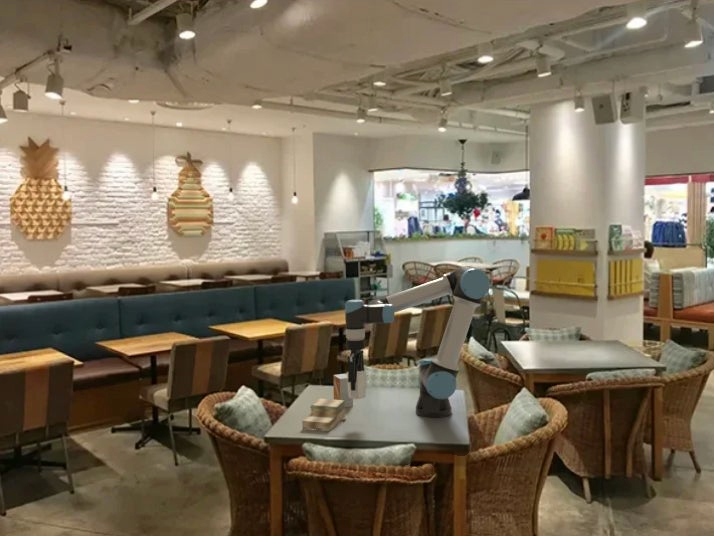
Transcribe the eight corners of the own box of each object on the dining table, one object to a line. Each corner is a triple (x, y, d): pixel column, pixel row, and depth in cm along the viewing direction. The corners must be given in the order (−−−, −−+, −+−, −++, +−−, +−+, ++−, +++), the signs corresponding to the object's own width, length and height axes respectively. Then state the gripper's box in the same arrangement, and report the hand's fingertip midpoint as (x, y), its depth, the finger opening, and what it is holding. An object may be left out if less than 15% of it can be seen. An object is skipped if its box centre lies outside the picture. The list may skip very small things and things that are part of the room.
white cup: (364, 399, 256) (364, 374, 255) (345, 399, 257) (344, 374, 257) (368, 394, 264) (367, 370, 263) (349, 394, 265) (348, 369, 264)
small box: (333, 403, 293) (333, 374, 292) (346, 401, 295) (346, 373, 294) (340, 407, 285) (339, 378, 284) (353, 406, 288) (353, 377, 287)
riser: (349, 416, 272) (348, 400, 271) (333, 432, 253) (333, 414, 252) (319, 414, 276) (319, 398, 275) (302, 429, 256) (301, 411, 256)
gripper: (353, 334, 270) (355, 388, 271) (338, 343, 250) (340, 401, 252) (371, 334, 267) (372, 389, 269) (357, 343, 248) (358, 402, 250)
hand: (357, 395), depth 260 cm, fingers closed on white cup, 7 cm apart
